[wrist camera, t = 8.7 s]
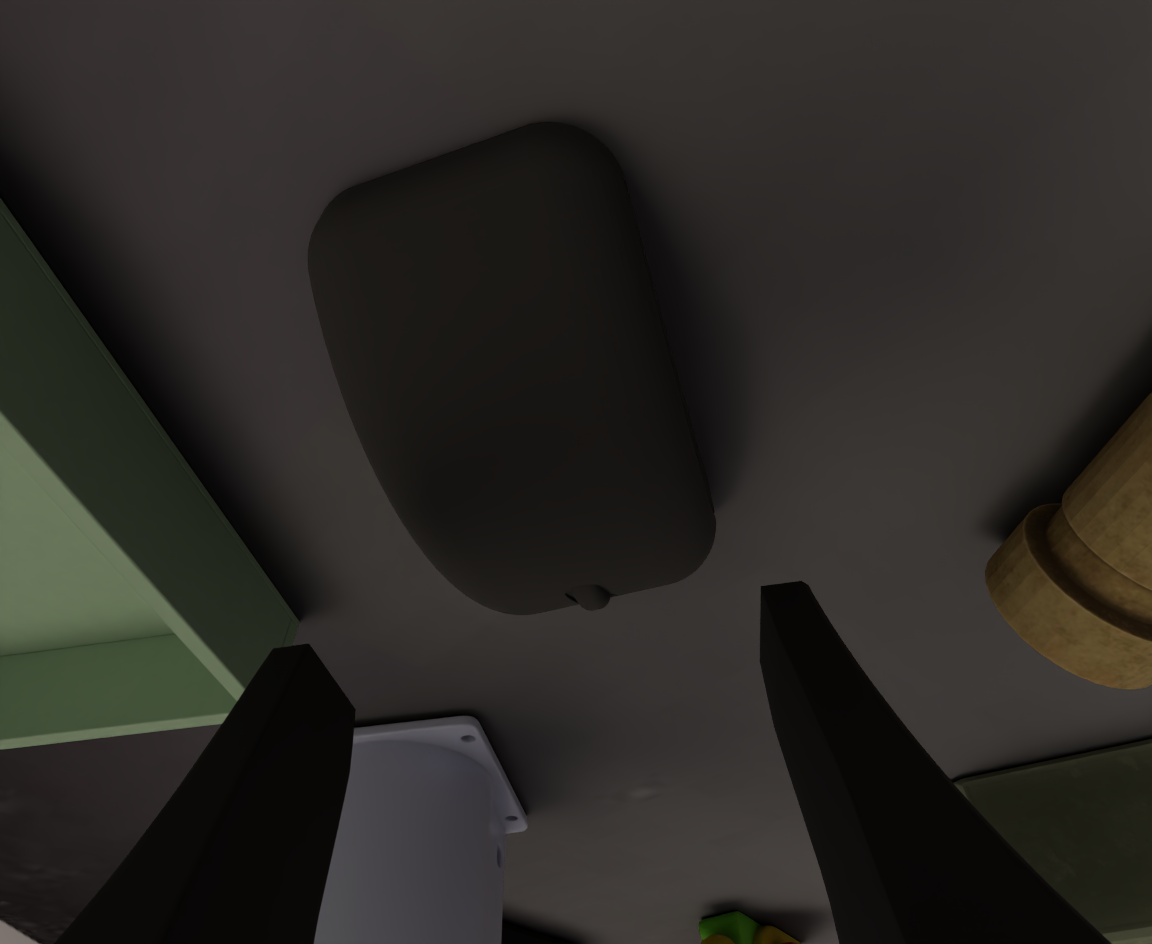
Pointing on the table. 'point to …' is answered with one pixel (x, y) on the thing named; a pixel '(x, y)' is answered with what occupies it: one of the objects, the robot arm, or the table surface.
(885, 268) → the table surface
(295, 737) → the robot arm
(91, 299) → the table surface
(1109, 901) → the handheld radio
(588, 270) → the computer mouse
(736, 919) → the toy measuring tape
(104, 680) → the storage box
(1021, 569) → the gavel
